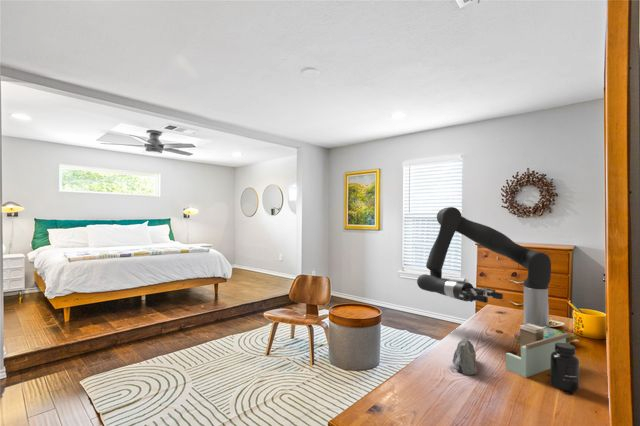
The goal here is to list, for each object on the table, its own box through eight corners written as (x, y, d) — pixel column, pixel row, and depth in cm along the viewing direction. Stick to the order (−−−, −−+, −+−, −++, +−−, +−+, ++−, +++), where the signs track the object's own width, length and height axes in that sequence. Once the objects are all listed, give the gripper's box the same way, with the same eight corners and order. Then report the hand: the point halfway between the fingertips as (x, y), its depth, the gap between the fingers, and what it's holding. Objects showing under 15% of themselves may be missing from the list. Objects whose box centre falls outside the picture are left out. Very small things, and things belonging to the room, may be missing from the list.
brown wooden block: (528, 358, 116) (528, 323, 116) (543, 364, 112) (543, 328, 112) (519, 361, 114) (519, 325, 114) (535, 367, 110) (535, 330, 109)
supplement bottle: (571, 394, 94) (571, 351, 94) (545, 383, 100) (545, 343, 100) (584, 389, 97) (584, 347, 97) (558, 378, 103) (558, 339, 103)
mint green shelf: (540, 354, 121) (541, 325, 121) (568, 364, 113) (568, 333, 113) (501, 366, 111) (501, 335, 111) (528, 378, 103) (528, 345, 103)
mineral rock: (465, 356, 119) (466, 327, 119) (495, 368, 110) (495, 337, 110) (441, 364, 112) (441, 334, 112) (470, 378, 103) (470, 345, 103)
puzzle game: (514, 331, 131) (544, 324, 140) (514, 343, 131) (544, 335, 140) (546, 342, 120) (576, 333, 129) (546, 355, 120) (576, 345, 129)
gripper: (446, 283, 136) (481, 290, 122) (470, 278, 143) (506, 285, 128) (446, 301, 136) (482, 311, 122) (470, 296, 143) (507, 305, 128)
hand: (494, 298), depth 125 cm, fingers open, 8 cm apart
